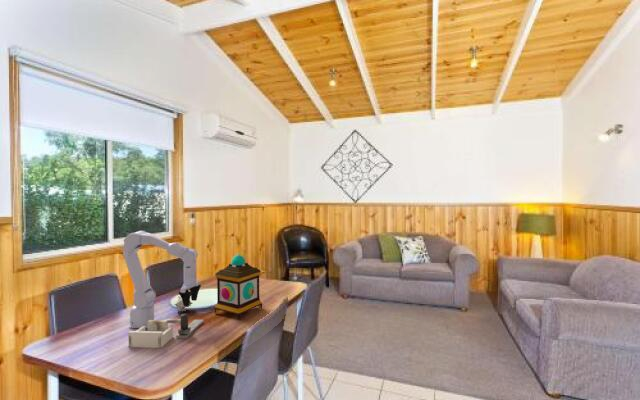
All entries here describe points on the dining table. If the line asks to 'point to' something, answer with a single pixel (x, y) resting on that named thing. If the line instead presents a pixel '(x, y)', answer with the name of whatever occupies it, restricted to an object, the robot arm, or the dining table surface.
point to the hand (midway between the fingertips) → (190, 303)
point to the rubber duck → (153, 327)
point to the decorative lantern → (238, 287)
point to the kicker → (163, 324)
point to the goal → (149, 338)
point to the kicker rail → (193, 325)
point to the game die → (181, 305)
